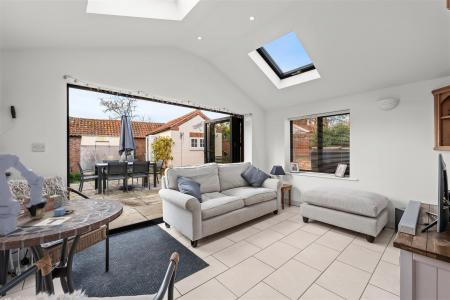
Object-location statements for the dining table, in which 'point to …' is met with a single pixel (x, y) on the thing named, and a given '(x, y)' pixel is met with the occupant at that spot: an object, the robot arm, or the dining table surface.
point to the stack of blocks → (50, 201)
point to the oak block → (39, 214)
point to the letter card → (53, 221)
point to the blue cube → (59, 211)
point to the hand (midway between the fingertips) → (36, 215)
